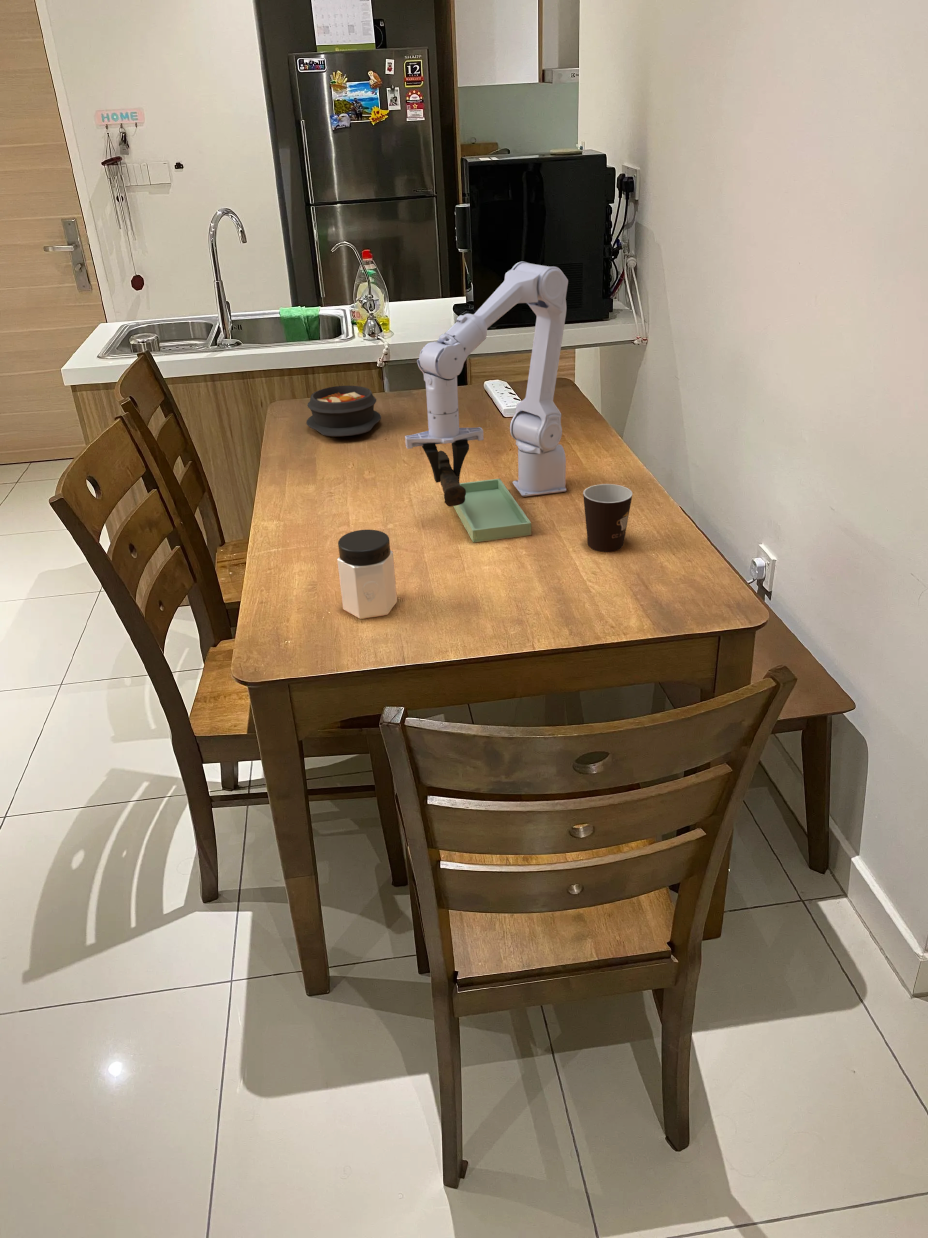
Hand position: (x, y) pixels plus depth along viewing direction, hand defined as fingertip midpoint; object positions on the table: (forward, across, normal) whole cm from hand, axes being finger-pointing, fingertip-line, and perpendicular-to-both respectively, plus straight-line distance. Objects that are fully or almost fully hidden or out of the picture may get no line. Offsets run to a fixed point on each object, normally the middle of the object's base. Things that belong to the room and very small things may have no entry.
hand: (446, 479), depth 178 cm
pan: (+8, +8, 0) cm, 11 cm away
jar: (+8, -19, -30) cm, 37 cm away
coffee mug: (+9, +27, -19) cm, 34 cm away
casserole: (+9, -14, +63) cm, 65 cm away
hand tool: (+2, 0, 0) cm, 2 cm away
